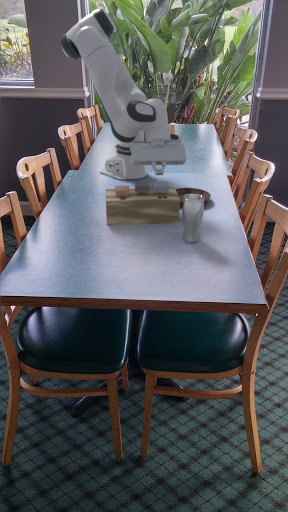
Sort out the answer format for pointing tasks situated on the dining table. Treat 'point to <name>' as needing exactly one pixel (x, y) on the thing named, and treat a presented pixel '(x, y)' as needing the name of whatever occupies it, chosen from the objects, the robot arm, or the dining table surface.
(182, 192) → the plant saucer
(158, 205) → the wooden key base
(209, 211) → the dining table surface
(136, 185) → the charcoal key
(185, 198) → the beer glass
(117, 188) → the terracotta key
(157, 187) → the slate key
